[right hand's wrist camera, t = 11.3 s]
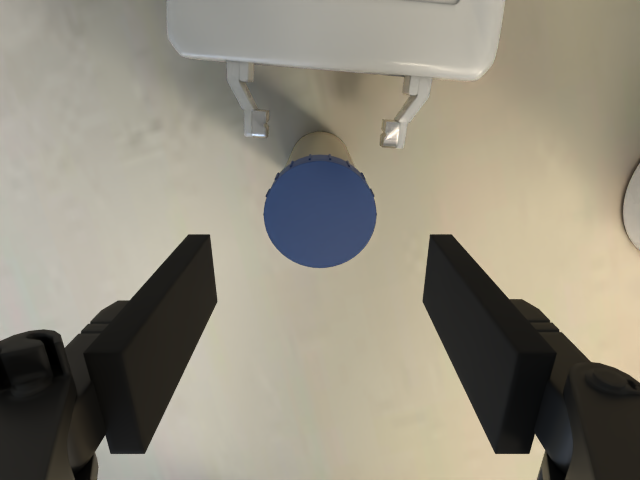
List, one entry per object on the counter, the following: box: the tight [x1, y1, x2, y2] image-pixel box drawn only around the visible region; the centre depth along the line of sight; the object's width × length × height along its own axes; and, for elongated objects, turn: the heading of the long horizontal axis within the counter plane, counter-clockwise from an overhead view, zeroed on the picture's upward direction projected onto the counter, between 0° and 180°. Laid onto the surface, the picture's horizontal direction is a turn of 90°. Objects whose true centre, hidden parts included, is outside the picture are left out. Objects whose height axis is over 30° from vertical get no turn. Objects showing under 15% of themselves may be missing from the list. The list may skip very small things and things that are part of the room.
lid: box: [263, 154, 377, 268], centre depth 21 cm, size 6×6×2 cm
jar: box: [286, 132, 355, 167], centre depth 27 cm, size 5×5×15 cm
